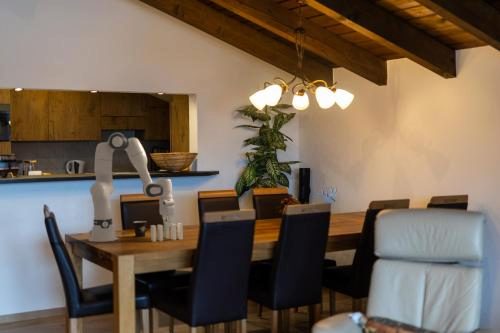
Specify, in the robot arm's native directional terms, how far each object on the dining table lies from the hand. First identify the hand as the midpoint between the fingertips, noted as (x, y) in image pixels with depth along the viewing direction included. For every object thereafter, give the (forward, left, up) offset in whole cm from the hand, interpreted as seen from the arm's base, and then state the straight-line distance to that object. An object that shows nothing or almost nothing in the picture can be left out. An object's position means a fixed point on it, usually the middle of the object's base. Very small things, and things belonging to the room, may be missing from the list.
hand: (166, 222), depth 450 cm
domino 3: (0, 0, -10) cm, 10 cm away
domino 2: (+10, -8, -10) cm, 16 cm away
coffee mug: (-15, -12, -10) cm, 22 cm away
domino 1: (+10, -12, -10) cm, 19 cm away
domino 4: (+10, +1, -10) cm, 14 cm away
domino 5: (+10, +6, -10) cm, 15 cm away
